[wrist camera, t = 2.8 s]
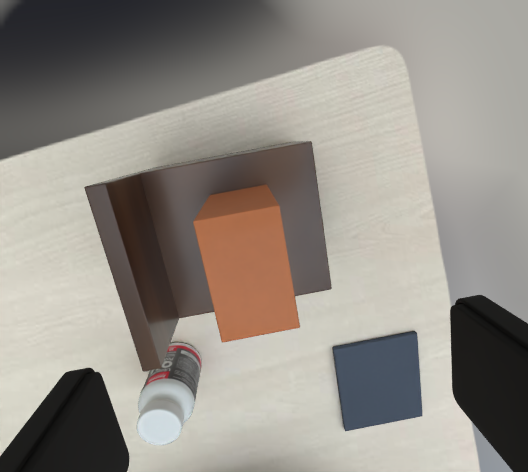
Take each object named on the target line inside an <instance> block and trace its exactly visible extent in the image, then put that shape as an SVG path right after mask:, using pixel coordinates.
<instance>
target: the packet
mask: <svg viewBox="0 0 528 472" xmlns="http://www.w3.org/2000/svg"><path fill="white" fill-rule="evenodd" d="M193 224H194V228H195V232H196V236H197V241H198V245H199V249H200V253H201V257H202V261H203V266H204V270H205V274H206V278H207V282H208V286H209V291H210V295H211V299H212V303H213V307H214V311H215V315H216V320H217V324H218V328H219V332H220V336H221V340H222V342H227V341H232V340H238V339H243V338H248V337H253V336H258V335H264V334H269V333H274V332H279V331H284V330H290V329H295V328H299V327H300V324H299V319H298V313H297V307H296V301H295V295H294V289H293V283H292V277H291V271H290V265H289V259H288V253H287V247H286V241H285V235H284V229H283V224H282V218H281V212H280V206H279V204H278V203H277V201H276V199H275V198H274V196H273V194H272V193H271V191H270V189H269V188H268V186H267V185H261V186H256V187H251V188H245V189H240V190H235V191H229V192H224V193H219V194H213V195H209V197H208V199H207V200H206V202H205V203H204V205H203V207H202V208H201V210H200V211H199V213H198V215H197V216H196V218H195V219H194V221H193Z"/></svg>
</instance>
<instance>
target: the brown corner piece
mask: <svg viewBox="0 0 528 472" xmlns="http://www.w3.org/2000/svg"><path fill="white" fill-rule="evenodd" d="M261 185H267V186H268V188H269V189H270V191H271V193H272V194H273V196H274V198H275V199H276V201H277V203H278V204H279V206H280V212H281V218H282V224H283V229H284V235H285V241H286V247H287V253H288V259H289V265H290V271H291V277H292V283H293V289H294V295H295V296H298V295H303V294H309V293H314V292H319V291H324V290H329V289H331V288H332V287H331V280H330V273H329V265H328V258H327V251H326V243H325V236H324V229H323V221H322V214H321V206H320V199H319V192H318V184H317V177H316V170H315V162H314V155H313V148H312V142H311V141H308V142H307V141H306V142H290V143H284V144H279V145H274V146H268V147H263V148H257V149H252V150H247V151H241V152H236V153H230V154H225V155H220V156H214V157H209V158H203V159H198V160H193V161H187V162H182V163H176V164H171V165H166V166H160V167H155V168H152V169H148V170H144V171H141V172H137V173H133V174H130V175H126V176H122V177H119V178H115V179H112V180H108V181H104V182H101V183H97V184H93V185H90V186H86V187H85V191H86V194H87V197H88V200H89V203H90V207H91V210H92V213H93V216H94V219H95V222H96V225H97V228H98V232H99V235H100V238H101V241H102V244H103V247H104V250H105V253H106V257H107V260H108V263H109V266H110V269H111V272H112V275H113V279H114V282H115V285H116V288H117V291H118V294H119V297H120V300H121V304H122V307H123V310H124V313H125V316H126V319H127V322H128V326H129V329H130V332H131V335H132V338H133V341H134V344H135V347H136V351H137V354H138V357H139V360H140V363H141V366H142V369H143V371H149V370H154V369H160V368H161V367H162V364H163V361H164V359H165V356H166V353H167V350H168V348H169V345H170V342H171V339H172V337H173V334H174V331H175V328H176V325H177V323H178V320H179V318H183V317H188V316H194V315H199V314H204V313H209V312H215V311H214V307H213V303H212V299H211V295H210V291H209V286H208V282H207V278H206V274H205V270H204V266H203V261H202V257H201V253H200V249H199V245H198V241H197V236H196V232H195V228H194V224H193V221H194V219H195V218H196V216H197V215H198V213H199V211H200V210H201V208H202V207H203V205H204V203H205V202H206V200H207V199H208V197H209V195H213V194H219V193H224V192H229V191H235V190H240V189H245V188H251V187H256V186H261Z"/></svg>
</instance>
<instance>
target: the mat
mask: <svg viewBox="0 0 528 472" xmlns="http://www.w3.org/2000/svg"><path fill="white" fill-rule="evenodd" d="M333 353H334V361H335V368H336V375H337V382H338V389H339V396H340V403H341V410H342V417H343V424H344V429H345V431H349V430H354V429H359V428H364V427H369V426H374V425H379V424H385V423H390V422H395V421H400V420H405V419H410V418H415V417H420V416H422V401H421V386H420V370H419V355H418V340H417V333H416V332H415V331H413V332H407V333H402V334H397V335H392V336H387V337H382V338H376V339H371V340H366V341H361V342H356V343H351V344H345V345H340V346H335V347H333Z"/></svg>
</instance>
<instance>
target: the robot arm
mask: <svg viewBox="0 0 528 472" xmlns="http://www.w3.org/2000/svg"><path fill="white" fill-rule="evenodd" d="M450 320H451V356H452V390H453V395H454V398H455V400H456V402H457V404H458V405H459V406H460V408H461V409H462V410H463V411H464V412H465V414H466V415H467V416H468V417H469V419H470V420H471V421H472V422H473V423H474V425H475V426H476V427H477V428H478V429H479V431H480V432H481V433H482V434H483V436H484V437H485V438H486V439H487V440H488V442H489V443H490V444H491V445H492V446H493V448H494V449H495V450H496V451H497V452H498V454H499V455H500V456H501V457H502V459H503V460H504V461H505V462H506V463H507V465H508V466H509V467H510V468H511V469H512V471H513V472H528V324H527V323H526V322H524V321H523V320H521V319H520V318H518V317H516V316H515V315H513V314H512V313H510V312H509V311H507V310H505V309H504V308H502V307H500V306H499V305H497V304H496V303H494V302H493V301H491V300H490V299H488V298H486V297H485V296H482V295H476V296H471V297H466V298H460V299H458V300H457V301H456V303H455V305H454V306H452V307H451V309H450ZM128 466H129V453H128V449H127V446H126V443H125V441H124V438H123V435H122V432H121V429H120V426H119V424H118V421H117V418H116V415H115V412H114V409H113V406H112V404H111V401H110V398H109V395H108V392H107V389H106V387H105V384H104V381H103V378H102V376H101V374H100V373H99V372H95V371H94V370H93V369H92V368H85V369H80V370H74V371H69V372H66V373H65V374H64V375H63V376H62V377H61V379H60V380H59V381H58V382H57V384H56V385H55V386H54V388H53V389H52V390H51V392H50V393H49V394H48V395H47V397H46V398H45V399H44V401H43V402H42V403H41V404H40V406H39V407H38V408H37V410H36V411H35V412H34V414H33V415H32V416H31V417H30V419H29V420H28V421H27V423H26V424H25V425H24V426H23V428H22V429H21V430H20V432H19V433H18V434H17V435H16V437H15V438H14V439H13V441H12V442H11V443H10V445H9V446H8V447H7V448H6V450H5V451H4V452H3V454H2V455H1V456H0V472H127V470H128Z"/></svg>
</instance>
